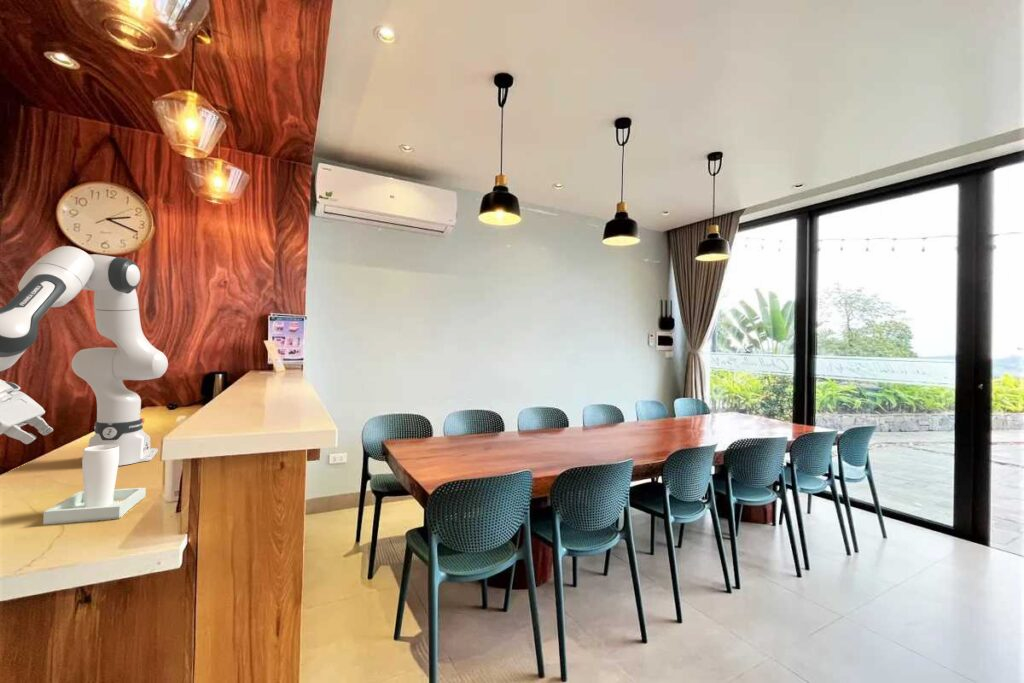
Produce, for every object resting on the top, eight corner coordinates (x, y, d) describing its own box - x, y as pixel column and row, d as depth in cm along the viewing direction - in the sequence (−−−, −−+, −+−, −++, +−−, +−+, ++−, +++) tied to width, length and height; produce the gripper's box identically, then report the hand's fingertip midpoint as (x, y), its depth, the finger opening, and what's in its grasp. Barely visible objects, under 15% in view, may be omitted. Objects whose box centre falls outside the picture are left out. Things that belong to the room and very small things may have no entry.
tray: (79, 502, 113) (79, 491, 113) (145, 498, 118) (145, 487, 118) (43, 524, 100) (43, 511, 100) (119, 518, 105) (119, 506, 105)
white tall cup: (115, 500, 115) (118, 443, 115) (118, 507, 110) (120, 448, 110) (79, 506, 110) (82, 446, 110) (80, 514, 105) (83, 452, 105)
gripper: (-29, 392, 91) (35, 436, 96) (18, 382, 108) (70, 419, 113) (-63, 414, 89) (5, 458, 93) (-9, 400, 106) (45, 438, 111)
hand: (41, 437), depth 104 cm, fingers open, 8 cm apart
